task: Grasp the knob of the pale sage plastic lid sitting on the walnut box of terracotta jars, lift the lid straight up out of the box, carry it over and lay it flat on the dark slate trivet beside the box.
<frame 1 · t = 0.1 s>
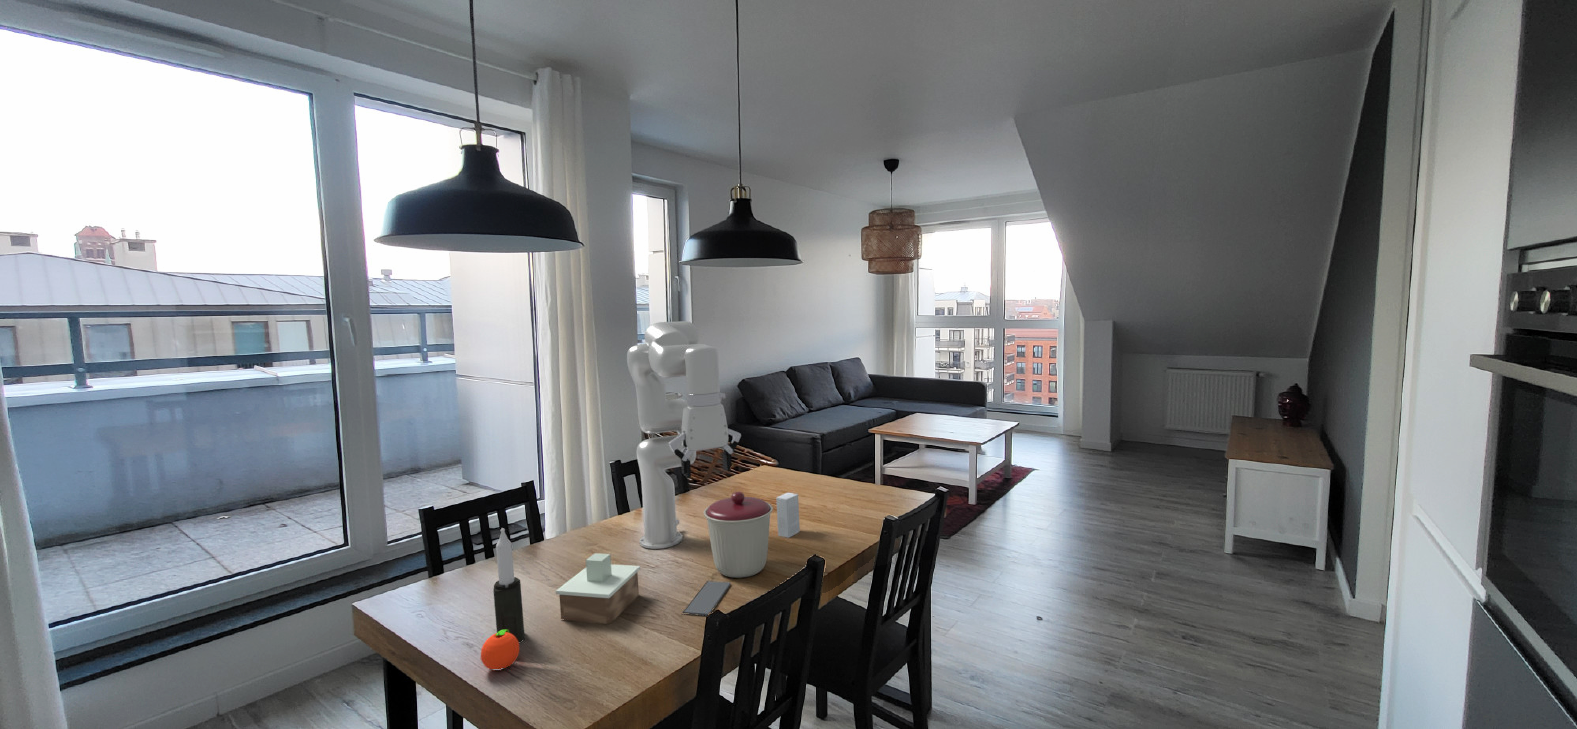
hand: (707, 473, 142), 31 cm above the table, tool pointing down, fingers open, 9 cm apart
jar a: (608, 600, 145), point 1 cm above the table, touching box
trivet: (688, 597, 147), on the table
skincare box: (788, 534, 187), on the table
clementine: (502, 667, 121), on the table
jar b: (594, 613, 140), point 1 cm above the table, touching box
candle: (511, 643, 130), on the table
box: (601, 610, 143), on the table
lid: (599, 581, 142), point 7 cm above the table, touching box
canister: (741, 570, 162), on the table
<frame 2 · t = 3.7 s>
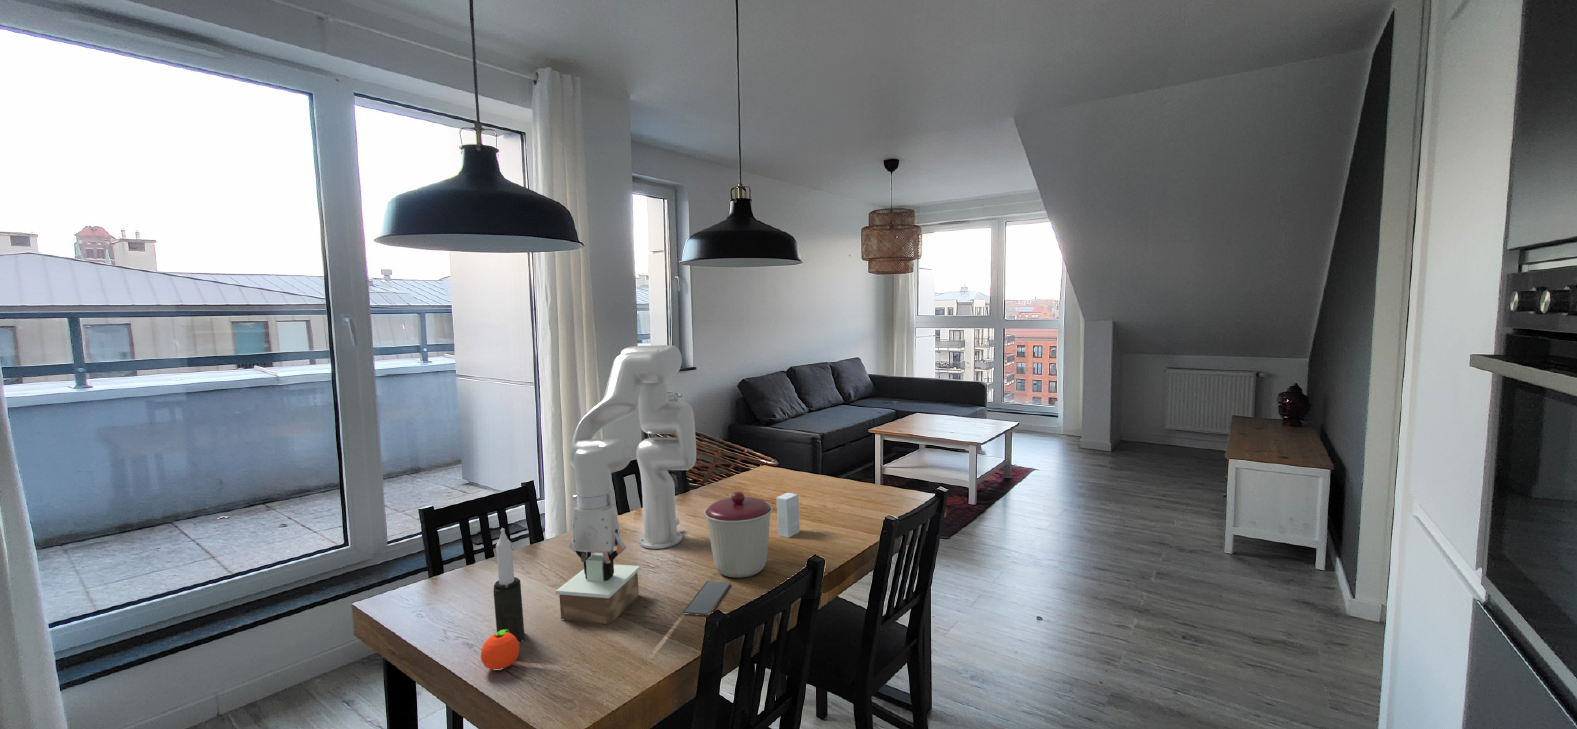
hand: (599, 576, 142), 8 cm above the table, tool pointing down, fingers closed on lid, 4 cm apart
lid: (599, 581, 142), point 7 cm above the table, touching box, gripper
everything else where it was.
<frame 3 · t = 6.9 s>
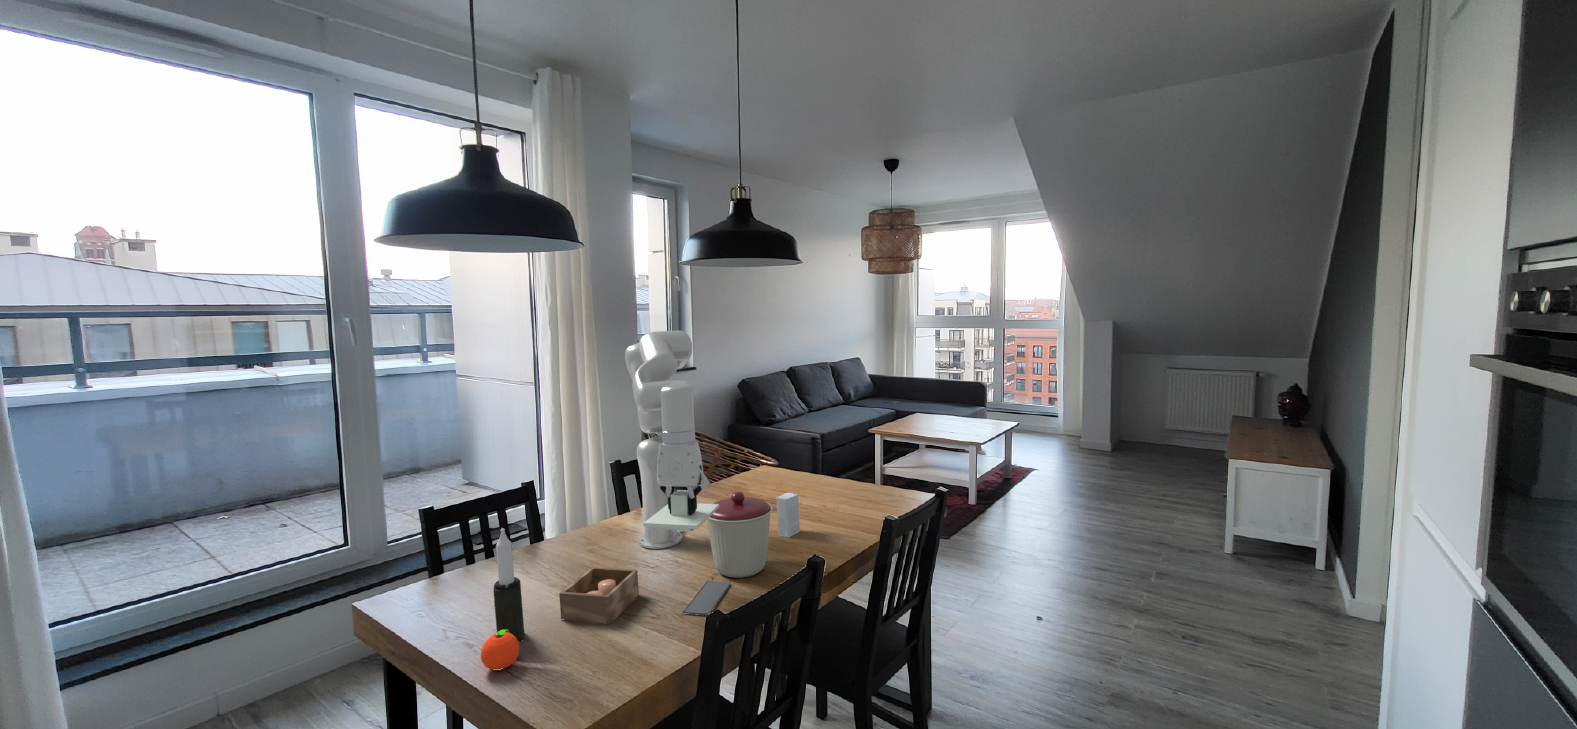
hand: (682, 511, 145), 21 cm above the table, tool pointing down, fingers closed on lid, 4 cm apart
lid: (682, 516, 146), point 20 cm above the table, touching gripper
everything else where it was.
when the fingers open (4 cm above the table, at t = 10.5 s): lid drops 1 cm, resting on trivet.
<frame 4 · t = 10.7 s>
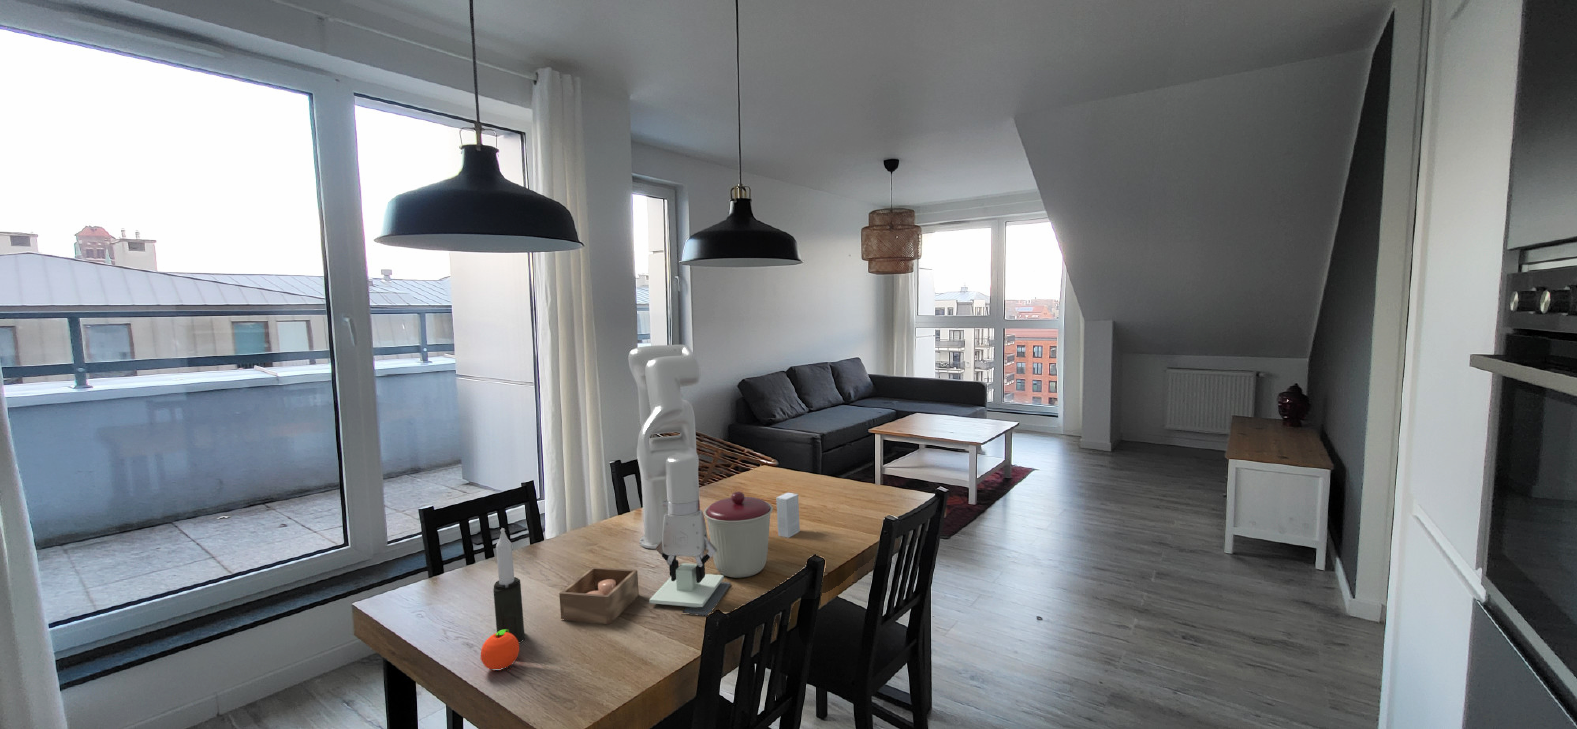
hand: (687, 579, 147), 5 cm above the table, tool pointing down, fingers open, 5 cm apart
lid: (688, 590, 147), point 2 cm above the table, touching trivet
everything else where it was.
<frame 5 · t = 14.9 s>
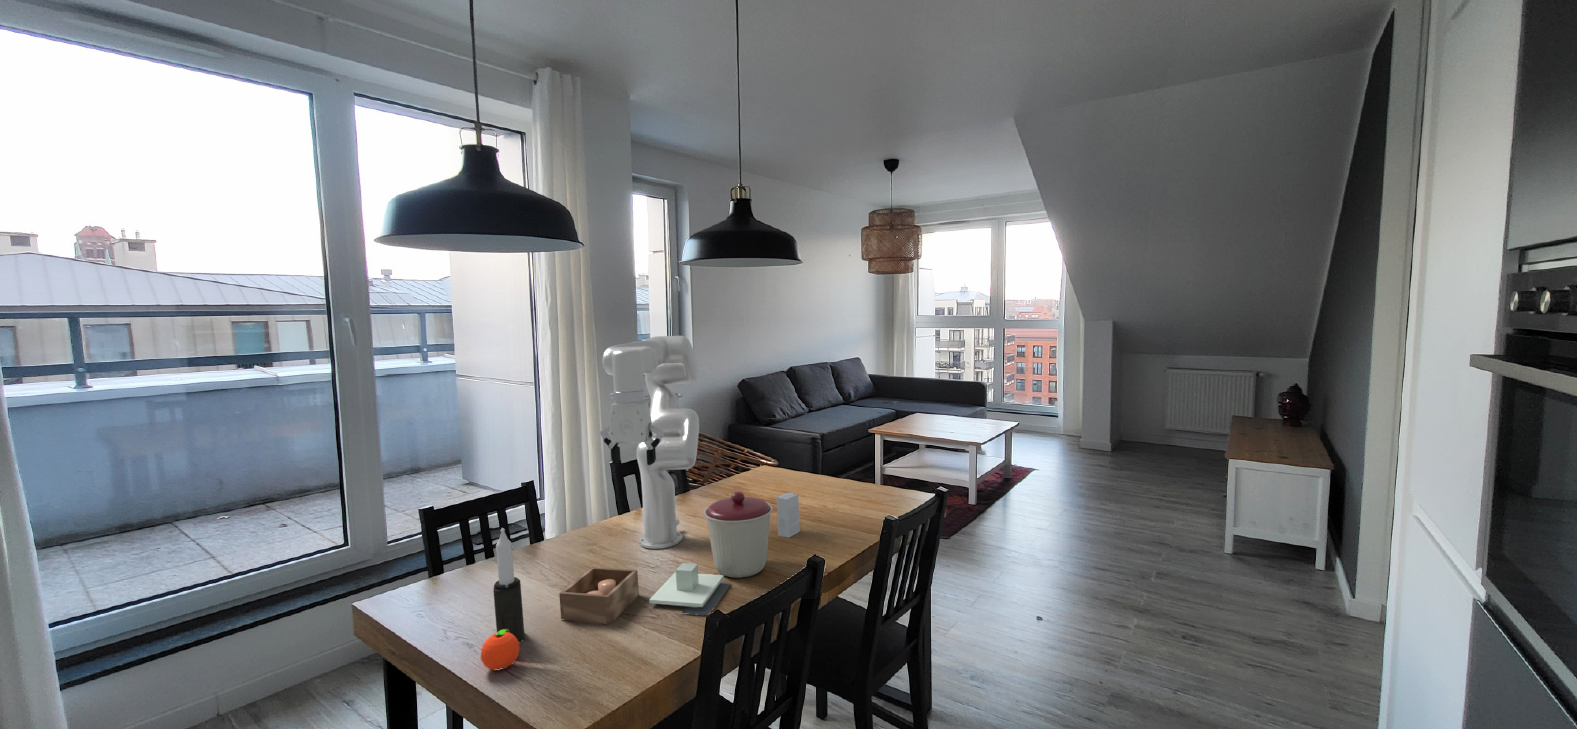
hand: (633, 463, 157), 30 cm above the table, tool pointing down, fingers open, 9 cm apart
nothing on the table moved.
at the end: lid inside the target area on the trivet (0.1 cm from its centre), point 1.8 cm above the trivet's base; lid tilted 0°; lid touching trivet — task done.
